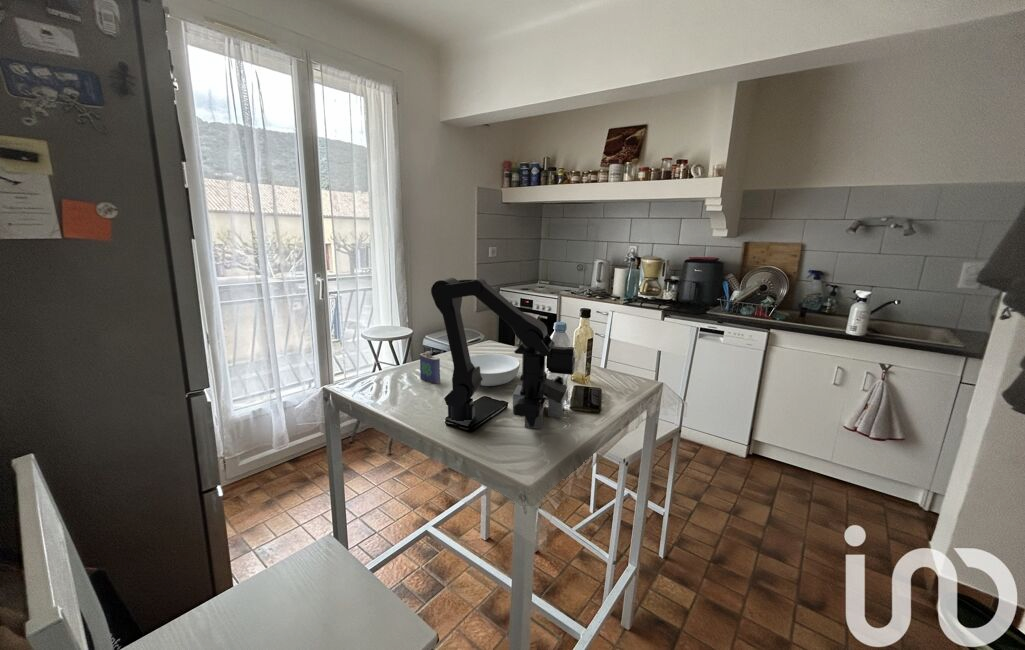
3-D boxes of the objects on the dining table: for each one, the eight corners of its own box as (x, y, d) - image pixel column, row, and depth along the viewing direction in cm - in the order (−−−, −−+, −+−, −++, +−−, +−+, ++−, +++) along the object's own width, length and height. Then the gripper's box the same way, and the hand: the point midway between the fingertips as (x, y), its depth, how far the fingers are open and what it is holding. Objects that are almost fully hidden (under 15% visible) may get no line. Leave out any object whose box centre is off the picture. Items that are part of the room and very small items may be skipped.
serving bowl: (521, 371, 150) (522, 354, 148) (516, 395, 130) (517, 374, 128) (466, 369, 152) (466, 351, 150) (452, 391, 132) (452, 371, 130)
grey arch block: (512, 412, 117) (513, 394, 116) (517, 402, 124) (517, 384, 122) (561, 418, 114) (562, 399, 113) (563, 407, 121) (564, 389, 120)
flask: (442, 382, 138) (441, 353, 136) (435, 385, 136) (434, 355, 133) (424, 376, 144) (423, 347, 141) (417, 378, 142) (416, 349, 139)
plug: (524, 426, 109) (525, 412, 108) (532, 404, 123) (532, 392, 122) (541, 428, 108) (541, 414, 107) (547, 406, 122) (547, 393, 121)
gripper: (560, 387, 93) (558, 448, 96) (568, 361, 110) (566, 414, 114) (513, 382, 95) (512, 442, 99) (528, 358, 113) (527, 409, 116)
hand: (531, 426), depth 107 cm, fingers closed
